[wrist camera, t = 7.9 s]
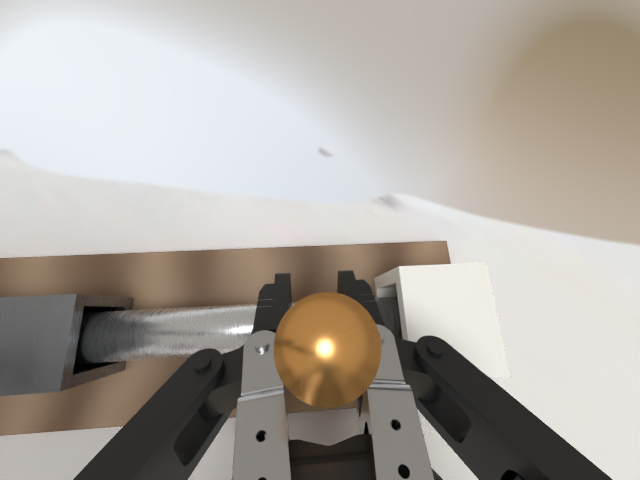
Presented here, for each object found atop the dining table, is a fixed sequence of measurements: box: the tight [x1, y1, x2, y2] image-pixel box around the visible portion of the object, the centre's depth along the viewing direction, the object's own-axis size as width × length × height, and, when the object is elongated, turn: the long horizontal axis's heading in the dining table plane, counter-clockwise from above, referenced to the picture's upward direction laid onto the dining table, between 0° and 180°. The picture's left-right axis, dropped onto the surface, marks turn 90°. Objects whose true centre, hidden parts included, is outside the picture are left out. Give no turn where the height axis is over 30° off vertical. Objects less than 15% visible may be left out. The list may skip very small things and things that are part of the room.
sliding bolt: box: [74, 292, 403, 408], centre depth 12 cm, size 22×3×12 cm, turn 93°
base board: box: [0, 241, 451, 436], centre depth 19 cm, size 39×11×1 cm, turn 93°
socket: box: [374, 262, 511, 378], centre depth 17 cm, size 5×6×5 cm
